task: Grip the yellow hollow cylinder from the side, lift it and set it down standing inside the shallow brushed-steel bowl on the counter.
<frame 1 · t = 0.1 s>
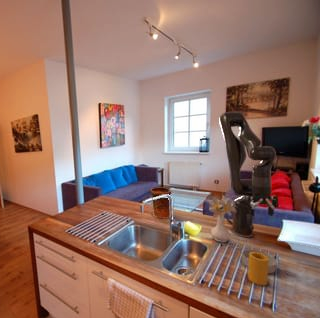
hand: (261, 215, 105), 17 cm above the worktop, tool pointing down, fingers open, 8 cm apart
flower vase: (221, 240, 114), on the worktop
yellow hollow cylinder: (257, 280, 84), on the worktop
vessel: (161, 215, 152), on the worktop
bowl: (258, 264, 93), on the worktop
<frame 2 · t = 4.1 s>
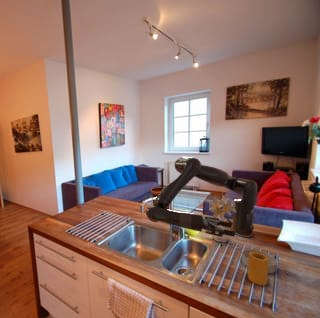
hand: (233, 229, 86), 21 cm above the worktop, tool horizontal, fingers open, 8 cm apart
nothing on the worktop moved.
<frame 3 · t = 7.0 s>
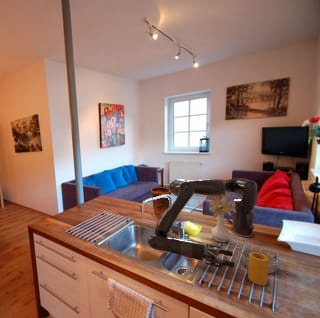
hand: (233, 259, 88), 7 cm above the worktop, tool horizontal, fingers open, 8 cm apart
nothing on the worktop moved.
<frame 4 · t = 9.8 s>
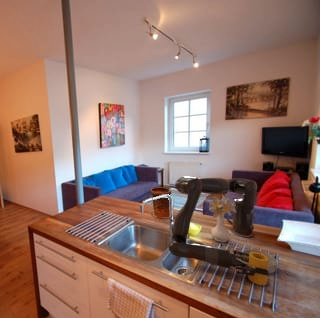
hand: (265, 267, 82), 7 cm above the worktop, tool horizontal, fingers closed on yellow hollow cylinder, 6 cm apart
yellow hollow cylinder: (257, 280, 84), on the worktop, touching gripper
everything else where it was.
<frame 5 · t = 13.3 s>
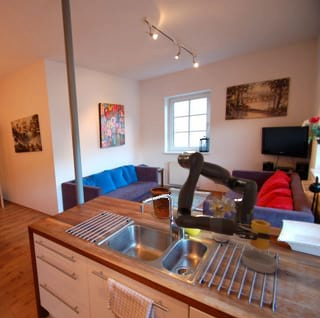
hand: (267, 233, 87), 18 cm above the worktop, tool horizontal, fingers closed on yellow hollow cylinder, 6 cm apart
yellow hollow cylinder: (259, 245, 89), point 11 cm above the worktop, touching gripper
everything else where it was.
when the fingers open (7 cm above the worktop, at t = 17.3 s): yellow hollow cylinder stays where it is, resting on bowl.
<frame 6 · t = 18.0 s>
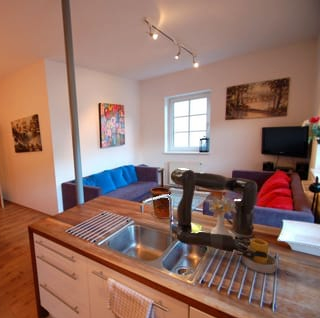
hand: (264, 250, 91), 8 cm above the worktop, tool horizontal, fingers open, 8 cm apart
yellow hollow cylinder: (257, 263, 93), resting on bowl
everything else where it was.
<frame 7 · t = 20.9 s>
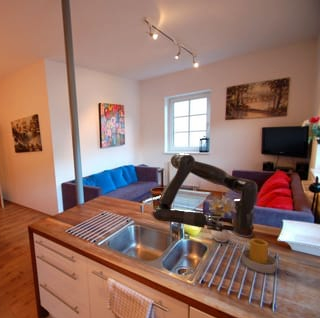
hand: (233, 224, 95), 18 cm above the worktop, tool horizontal, fingers open, 8 cm apart
nothing on the worktop moved.
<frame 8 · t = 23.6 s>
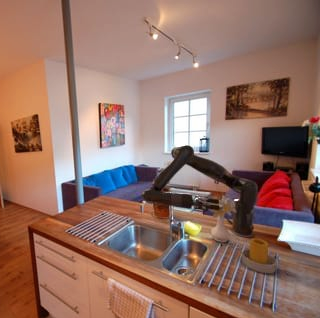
hand: (219, 204, 96), 28 cm above the worktop, tool horizontal, fingers open, 8 cm apart
nothing on the worktop moved.
at the end: yellow hollow cylinder 0.1 cm off-centre in the bowl, point 0.5 cm above the bowl's base; yellow hollow cylinder tilted 0°; the gripper is holding nothing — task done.
